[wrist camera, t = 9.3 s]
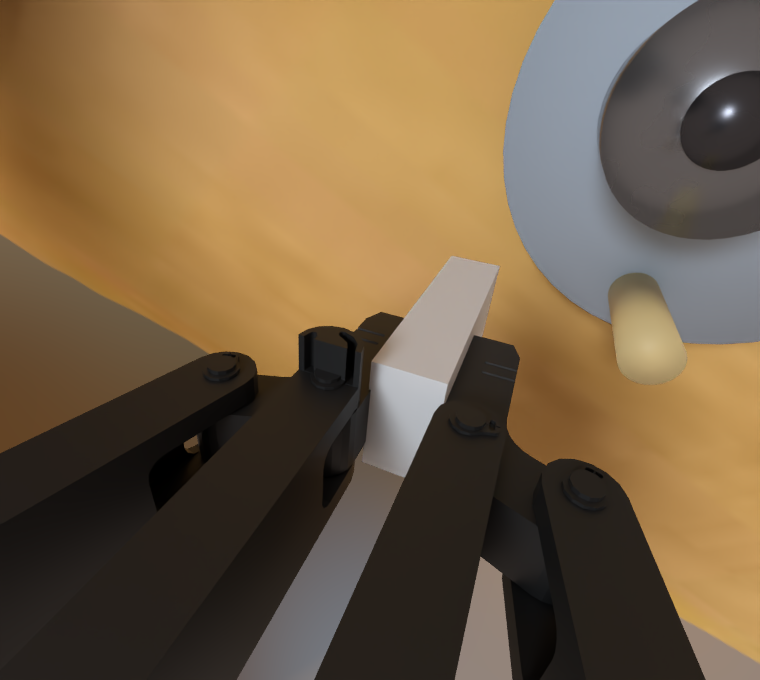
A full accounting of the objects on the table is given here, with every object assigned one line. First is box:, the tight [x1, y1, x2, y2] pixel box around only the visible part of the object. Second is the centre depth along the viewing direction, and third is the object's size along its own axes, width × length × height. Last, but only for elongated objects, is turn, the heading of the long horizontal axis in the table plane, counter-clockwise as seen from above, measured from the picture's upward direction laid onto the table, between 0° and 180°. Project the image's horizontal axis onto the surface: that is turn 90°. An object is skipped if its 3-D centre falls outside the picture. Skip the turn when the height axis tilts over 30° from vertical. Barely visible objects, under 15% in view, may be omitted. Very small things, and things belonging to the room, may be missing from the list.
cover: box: [597, 0, 760, 240], centre depth 17 cm, size 8×8×5 cm
